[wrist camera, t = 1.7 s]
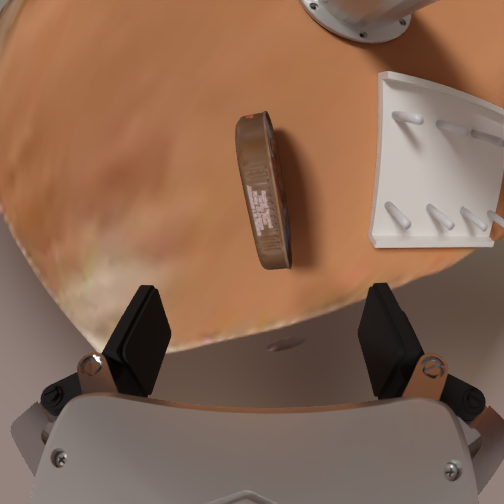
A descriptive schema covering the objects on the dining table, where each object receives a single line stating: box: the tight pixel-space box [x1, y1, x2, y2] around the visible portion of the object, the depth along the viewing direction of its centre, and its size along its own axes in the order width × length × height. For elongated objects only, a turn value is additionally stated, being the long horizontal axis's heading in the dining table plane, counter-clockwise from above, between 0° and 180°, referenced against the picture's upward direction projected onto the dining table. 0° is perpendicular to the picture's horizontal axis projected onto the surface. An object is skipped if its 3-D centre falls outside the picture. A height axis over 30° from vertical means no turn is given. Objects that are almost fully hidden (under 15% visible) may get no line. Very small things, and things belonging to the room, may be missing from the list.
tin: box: [235, 111, 292, 270], centre depth 24 cm, size 15×3×8 cm, turn 11°
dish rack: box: [368, 71, 504, 248], centre depth 22 cm, size 19×20×6 cm
